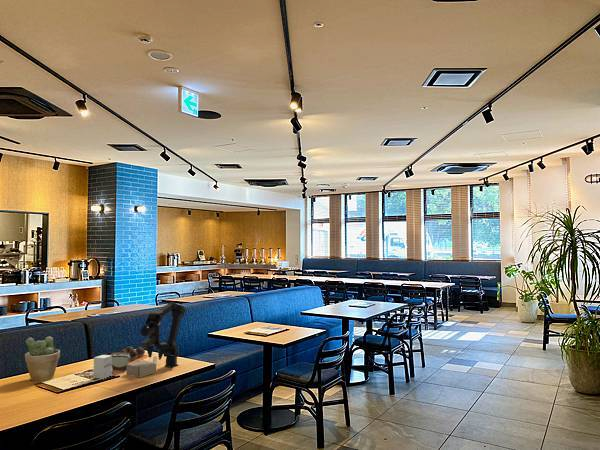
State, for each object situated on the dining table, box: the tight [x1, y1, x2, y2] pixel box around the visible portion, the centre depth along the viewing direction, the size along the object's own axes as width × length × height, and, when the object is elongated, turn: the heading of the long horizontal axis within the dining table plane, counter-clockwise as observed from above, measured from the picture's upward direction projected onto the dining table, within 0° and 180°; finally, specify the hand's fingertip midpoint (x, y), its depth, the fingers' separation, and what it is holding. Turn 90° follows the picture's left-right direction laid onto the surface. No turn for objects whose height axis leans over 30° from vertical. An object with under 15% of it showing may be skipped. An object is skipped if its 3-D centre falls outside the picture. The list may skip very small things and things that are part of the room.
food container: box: [110, 352, 130, 372], centre depth 287 cm, size 12×6×10 cm, turn 84°
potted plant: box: [24, 336, 61, 382], centre depth 268 cm, size 18×19×25 cm
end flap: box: [138, 356, 158, 378], centre depth 273 cm, size 12×1×10 cm, turn 146°
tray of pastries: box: [110, 346, 149, 364], centre depth 307 cm, size 28×17×8 cm, turn 167°
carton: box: [125, 359, 153, 378], centre depth 277 cm, size 12×12×6 cm
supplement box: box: [92, 354, 113, 380], centre depth 269 cm, size 7×7×13 cm
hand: (154, 358), depth 278 cm, fingers open, 9 cm apart
